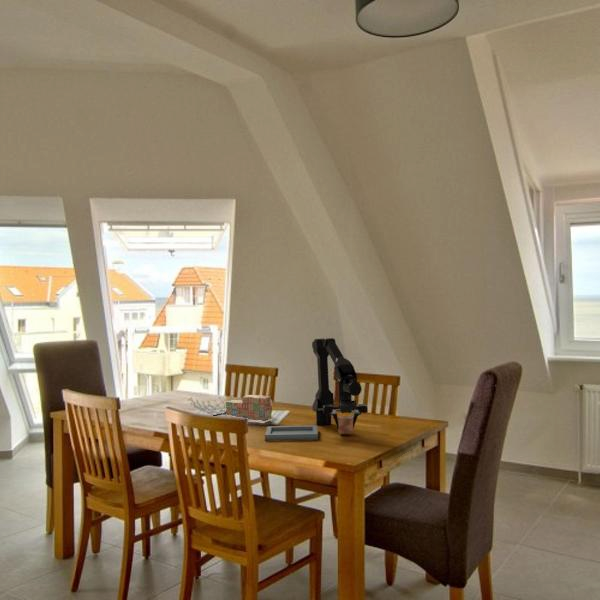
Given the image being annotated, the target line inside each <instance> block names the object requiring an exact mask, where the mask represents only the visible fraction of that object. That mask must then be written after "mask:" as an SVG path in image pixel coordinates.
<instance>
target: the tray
mask: <svg viewBox="0 0 600 600" xmlns="http://www.w3.org/2000/svg"><path fill="white" fill-rule="evenodd" d="M265 440H292V441H318V440H319V431H318V425H315V424H314V425H313V424H312V425H278V426H277V425H273V426H272V425H270V426H266V430H265V433H264V441H265Z"/></svg>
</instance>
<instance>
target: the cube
mask: <svg viewBox="0 0 600 600" xmlns="http://www.w3.org/2000/svg"><path fill="white" fill-rule="evenodd" d="M337 419H338V425H339V429H338V428H337V431H338V434H354V429H353V415H348V416H347V415H346V416H345V415H341V416H338V415H337Z"/></svg>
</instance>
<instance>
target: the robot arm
mask: <svg viewBox="0 0 600 600" xmlns="http://www.w3.org/2000/svg"><path fill="white" fill-rule="evenodd" d="M311 347H312V350H313V354H314V355H315V357H316V359H317V360H316V362H317V378H318V379H317V381H318V383H317V384H318V389H317V391H316V393H315V399H314V401H313V404H312V406H311V407H312V411H313V412H314V413H315V414H316V415H315V417H316V418H315V420H316V421H315V424H316V425H317V426H330V425H331V423H332V417H333V420H334V421H335V426H336V428H337V430H338V429H339V425H338V413H337V412H339V413H341V414H345V413H346V414H347V413H348V414H351V413H352V418H353V430H354V428H355V425H356V422H357V419H358V417H359V416H360V415H362V414H367V413H368V412H369V410H368V406H367V404H366V403H357V400H353V398H352V396H353V397H357V396H359V395H360V394H361V392H362V391H363V390H362V389H363V388H362V385H361V384H360V382H358V374H357V372H356V369H355V367H354V365H353V363H352V362H351V360H349V359H347V358H345V357H344V355H343V354H342V351H341V349H339V346H338V345H337V343H336V338H333V337H331V338H328V337H327V338H323V337H322V338H315V339H314V340H313V341H312V343H311ZM329 357H330V359H331V360H332V362H333V363H334V368H333V370H334V374H335V375H336V378H335V379H336V382H337V397H338V398H337V400H338V402H337V403H338V404H337V405H338V406H335V400H334V392H332V391H331V390H330V384H329V382H330V381H329V378H330V377H329V361H328V358H329Z"/></svg>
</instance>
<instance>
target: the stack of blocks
mask: <svg viewBox="0 0 600 600" xmlns="http://www.w3.org/2000/svg"><path fill="white" fill-rule="evenodd" d="M225 407H226V413H225V414H226V416H227V415H232V416H236V417H243V418H248V419H253V420H262V421H266V420H268V419H269V418H271V417H272V416H271V415H272V412H271V410H272V409H271V408H272V404H271V396H269V395H260V394H247V395H244V396H242V397H241V399H232V400H228V401H226V402H225ZM271 419H272V418H271Z"/></svg>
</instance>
